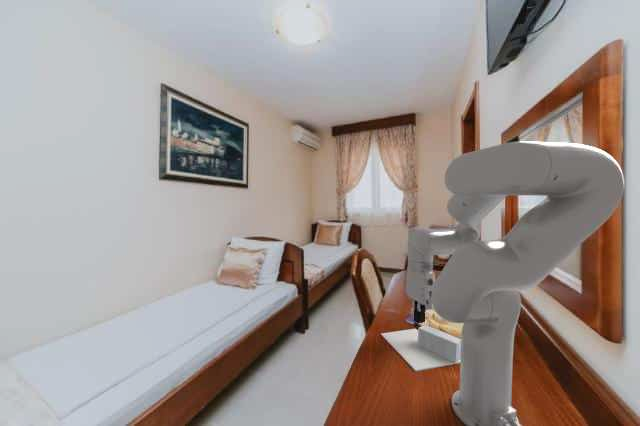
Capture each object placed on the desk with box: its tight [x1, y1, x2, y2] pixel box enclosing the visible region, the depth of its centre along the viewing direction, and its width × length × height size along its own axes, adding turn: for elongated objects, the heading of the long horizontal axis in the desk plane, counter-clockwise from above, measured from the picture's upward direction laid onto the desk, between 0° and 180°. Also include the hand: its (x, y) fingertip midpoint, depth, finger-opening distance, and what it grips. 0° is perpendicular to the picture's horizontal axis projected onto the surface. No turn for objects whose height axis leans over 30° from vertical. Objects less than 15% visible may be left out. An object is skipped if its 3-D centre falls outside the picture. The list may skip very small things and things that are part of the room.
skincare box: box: [417, 325, 461, 363], centre depth 77 cm, size 6×4×12 cm
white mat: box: [380, 328, 461, 372], centre depth 81 cm, size 20×16×1 cm
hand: (419, 321), depth 80 cm, fingers closed
